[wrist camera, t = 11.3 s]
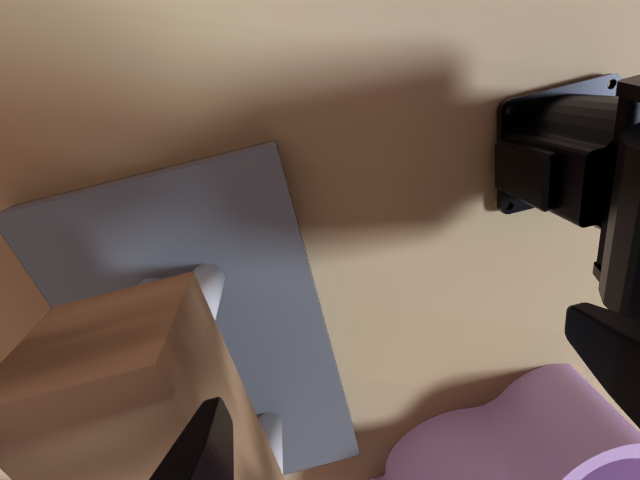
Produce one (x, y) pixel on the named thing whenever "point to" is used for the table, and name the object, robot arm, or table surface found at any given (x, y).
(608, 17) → the table surface
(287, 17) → the table surface
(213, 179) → the peg stand
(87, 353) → the brown rectangular block
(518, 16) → the table surface
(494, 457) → the clip
